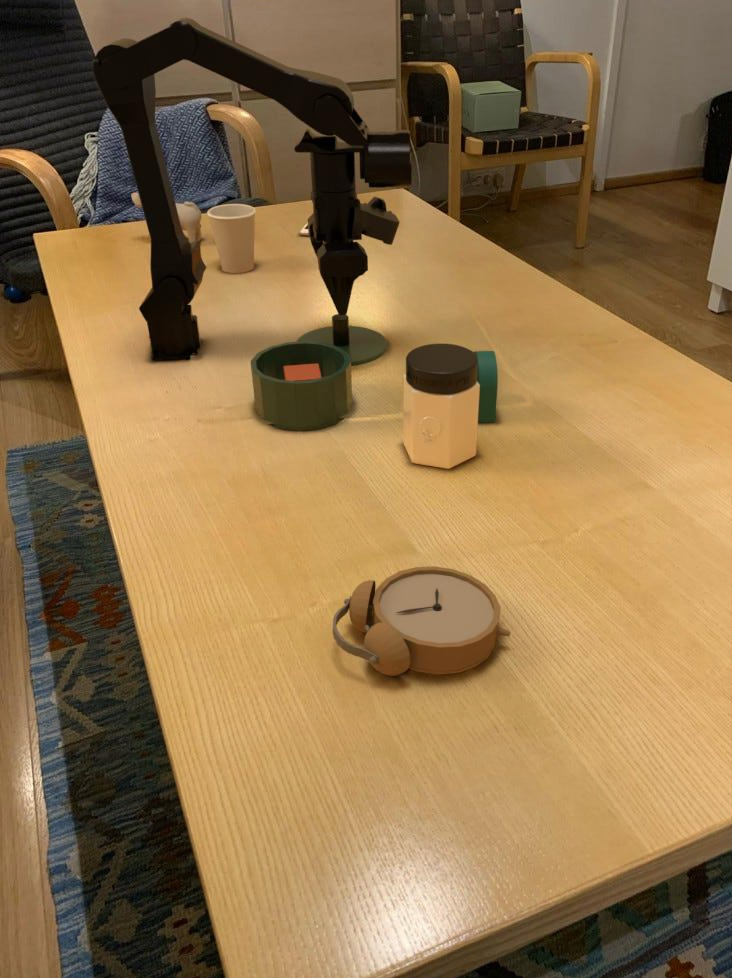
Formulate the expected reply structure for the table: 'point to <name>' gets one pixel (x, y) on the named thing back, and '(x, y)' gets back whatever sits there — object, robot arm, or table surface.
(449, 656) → the alarm clock
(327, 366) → the pot
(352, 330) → the lid
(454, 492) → the table surface
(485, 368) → the bracket
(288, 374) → the box
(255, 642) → the table surface
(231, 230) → the dixie cup
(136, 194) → the dog figurine
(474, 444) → the jar
